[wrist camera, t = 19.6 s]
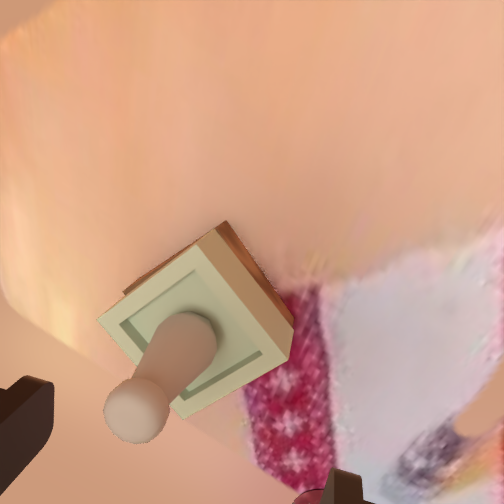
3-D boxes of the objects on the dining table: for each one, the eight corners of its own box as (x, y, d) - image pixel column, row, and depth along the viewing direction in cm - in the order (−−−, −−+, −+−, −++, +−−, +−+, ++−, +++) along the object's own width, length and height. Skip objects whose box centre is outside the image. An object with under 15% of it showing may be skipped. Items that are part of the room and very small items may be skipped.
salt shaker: (194, 369, 40) (130, 474, 28) (153, 327, 40) (70, 414, 28) (236, 336, 38) (186, 434, 26) (194, 291, 38) (123, 369, 26)
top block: (293, 330, 42) (288, 360, 36) (199, 386, 46) (182, 420, 41) (214, 228, 40) (196, 244, 35) (124, 296, 44) (96, 319, 39)
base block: (294, 316, 45) (291, 334, 42) (204, 364, 50) (193, 384, 46) (227, 219, 43) (217, 229, 40) (139, 278, 48) (122, 291, 44)
